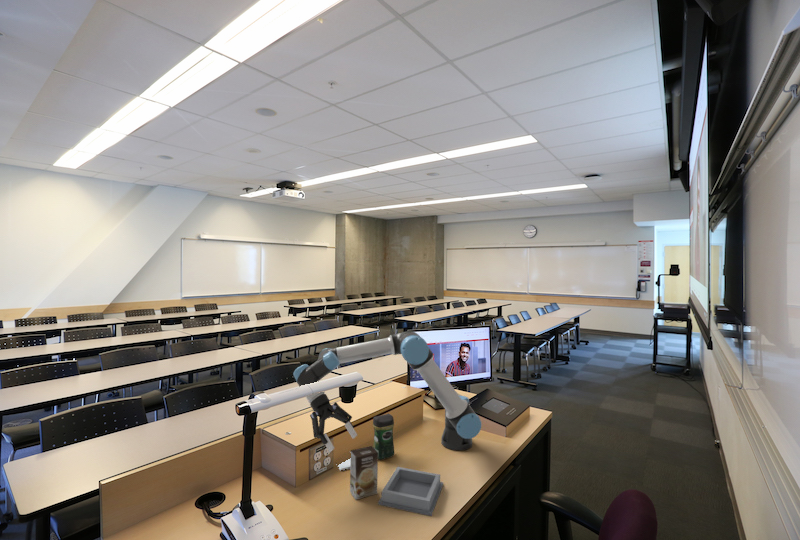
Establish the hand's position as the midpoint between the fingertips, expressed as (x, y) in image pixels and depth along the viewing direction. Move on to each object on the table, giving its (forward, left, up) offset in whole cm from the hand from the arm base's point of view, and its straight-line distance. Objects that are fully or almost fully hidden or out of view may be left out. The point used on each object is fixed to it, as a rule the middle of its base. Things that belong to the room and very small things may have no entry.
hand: (344, 443), depth 151 cm
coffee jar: (-27, +7, -17) cm, 32 cm away
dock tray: (-3, +28, -16) cm, 32 cm away
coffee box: (+2, +10, -17) cm, 19 cm away
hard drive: (-16, -7, -17) cm, 24 cm away
